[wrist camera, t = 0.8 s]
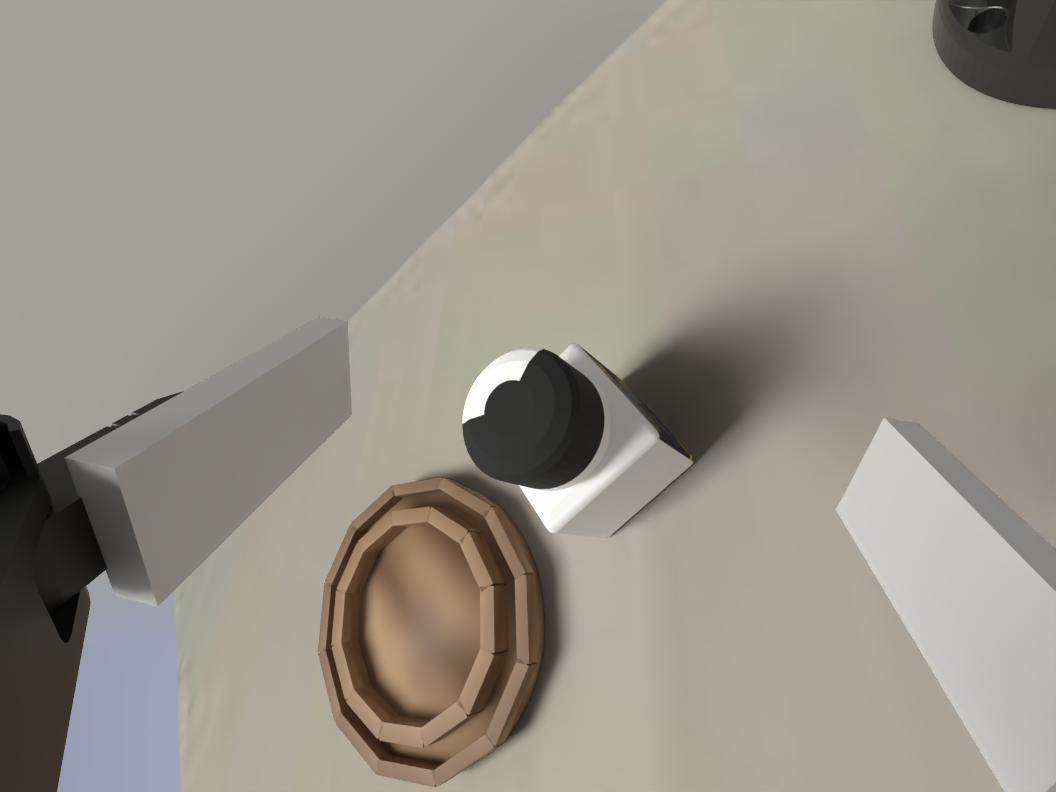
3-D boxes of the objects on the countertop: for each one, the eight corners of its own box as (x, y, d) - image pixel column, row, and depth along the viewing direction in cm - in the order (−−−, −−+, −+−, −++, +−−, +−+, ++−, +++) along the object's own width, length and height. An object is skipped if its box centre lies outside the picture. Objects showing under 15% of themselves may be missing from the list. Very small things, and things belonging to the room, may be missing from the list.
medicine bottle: (698, 461, 28) (620, 408, 18) (606, 541, 30) (490, 530, 20) (621, 379, 32) (524, 298, 22) (543, 453, 34) (420, 408, 24)
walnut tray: (404, 449, 40) (381, 443, 38) (589, 555, 30) (571, 554, 28) (311, 659, 39) (282, 665, 37) (469, 846, 29) (440, 867, 27)
